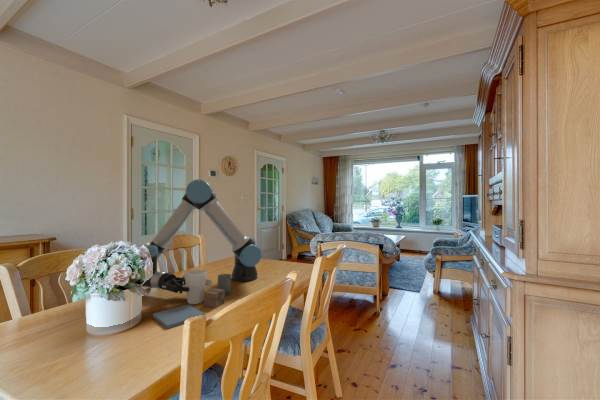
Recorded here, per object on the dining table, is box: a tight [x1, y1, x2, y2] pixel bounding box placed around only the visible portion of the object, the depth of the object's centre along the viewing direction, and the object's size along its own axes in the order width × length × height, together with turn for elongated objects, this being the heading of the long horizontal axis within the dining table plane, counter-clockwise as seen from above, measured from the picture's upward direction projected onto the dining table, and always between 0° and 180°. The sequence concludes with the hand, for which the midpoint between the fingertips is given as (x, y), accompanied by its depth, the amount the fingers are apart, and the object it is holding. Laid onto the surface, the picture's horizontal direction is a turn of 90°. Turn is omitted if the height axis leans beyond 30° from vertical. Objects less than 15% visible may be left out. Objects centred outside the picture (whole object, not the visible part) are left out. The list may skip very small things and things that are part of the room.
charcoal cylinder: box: [217, 273, 232, 297], centre depth 131 cm, size 6×6×9 cm
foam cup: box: [184, 269, 208, 305], centre depth 121 cm, size 10×9×13 cm
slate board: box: [152, 303, 206, 330], centre depth 105 cm, size 14×14×1 cm
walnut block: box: [203, 287, 225, 309], centre depth 118 cm, size 6×6×6 cm
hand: (204, 286), depth 120 cm, fingers closed on foam cup, 9 cm apart
